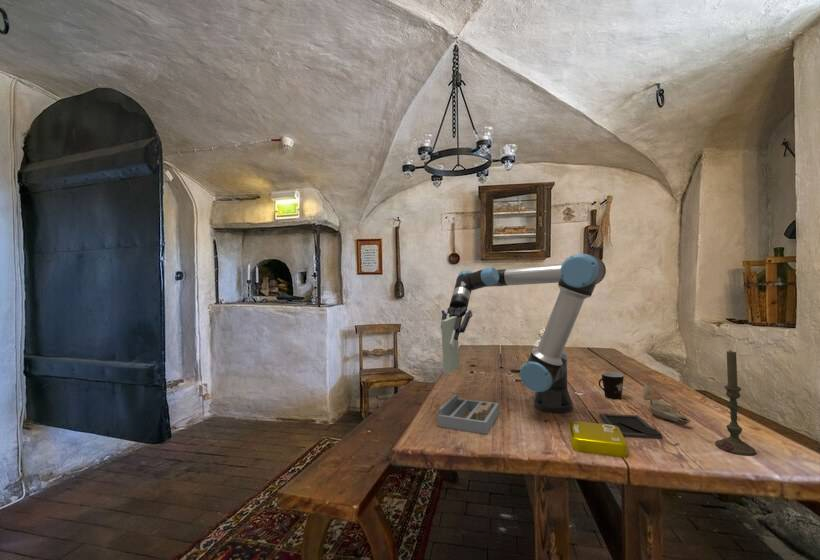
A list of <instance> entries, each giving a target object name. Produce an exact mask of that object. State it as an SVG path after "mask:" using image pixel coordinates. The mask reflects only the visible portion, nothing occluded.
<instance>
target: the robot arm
mask: <svg viewBox="0 0 820 560" xmlns="http://www.w3.org/2000/svg"><path fill="white" fill-rule="evenodd" d="M606 272H607V268H606V265H605V262H603V260H602V259H601V258H599V257H597V256H596V255H593V254H592V255H590V254H589V253H588V254H587V253H576V254H573V255H570V256H568V257H567V258H566V259H565V260H563V262H562V263H556V264H546V265H545V264H544V265H534V266H525V267H514V268H512V267H511V268H503V269H500V268H499V269H497V268H495V267H494V266H490V267H485V268H483V269H480V270H477V271H474V272H472V271H470V270H464V269H463V270H461V271H460V272H459V273H458V275H457V277H456V280H455V283H454V289H453V291H452V295H451V299H450V302H449V307H448V308H447V310H443V309H441V321H443V320H445V319H447V316H448V318H450V317H452V316H457V321H456V329H455V330H456V331H455V330H453V333H452V337H451V341H450V345H451V347H452V348H454V344H455V340H458V341H459V335H460V334H461V333H462V334H464V333H465V331H466V328H467V326H468V324H469V321H470V319H471V318H472V317H473V312H472V309H471V310H470V309H468V307H469V302H470V298H471V294H472V291H475V290H478V289H483V288H488V287H489V288H490V287H491V288H492V287H505V286H507V287H508V286H522V285H524V286H526V285H538V284H540V285H541V284H556V283H557V287H558V289H559V293H558V296H557V298H556V301H555V303H554V305H553V307H552V311H551V313H550V316H549V318H548V319H547V320H548V321H547V323H546V325H545V327H544V331H543V332H542V336H541V338H540V341H539V343H538V346H537V347H536V348H533V349H532V350H531V352H530V355H529V357H528V360H527V362H525V363H524V364H523V365H522V366H521V368H520V371H519V374H520V379H521V381H522V383H523V385H524V386H525V387H526V388H527V389H529V390H530V391H531V392H535V394H534V396H533V407H534V408H535V409H537V410H540V411H543V412H546V413H553V414H554V413H555V414H564V413H565V414H566V413H571V412H572V411H573V410H574V409H573V408H574V407H573V406H574V405H573V400H572V398H571V395H570V393H569V390H568V363H567V362H568V359H567V354H566V353H565V352H564V349H565V348H566V345H567V342H568V340H569V338H570V335H571V333H572V330H573V329H574V326H575V323H576V320H577V318H578V316H579V314H580V311H581V309H582V306H583V304H584V302H585V300H586V299H588V298H591V297H592V294H593V292H594V290H595V288H596V285H598V284H600V283H601V282H602V281H603V280H604V278H605V277H606ZM463 317H464V318H463ZM440 330H441V331H442V329H441V328H440Z"/></svg>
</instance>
